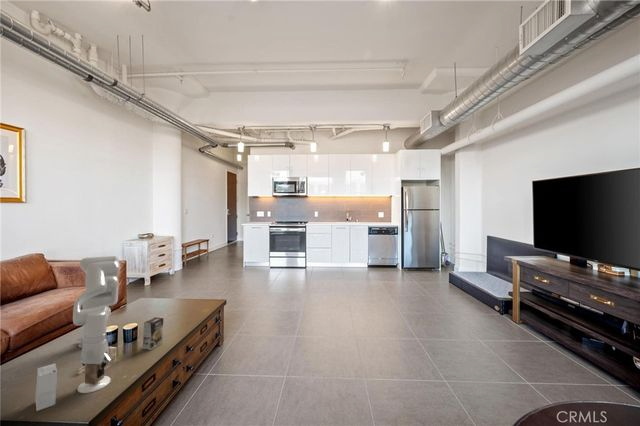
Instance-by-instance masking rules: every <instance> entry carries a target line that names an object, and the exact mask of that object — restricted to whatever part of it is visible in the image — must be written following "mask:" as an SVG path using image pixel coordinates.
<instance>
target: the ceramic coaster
mask: <svg viewBox="0 0 640 426" xmlns="http://www.w3.org/2000/svg"><path fill="white" fill-rule="evenodd" d="M110 383H111V377H109V376H108V375H104V378H103V379H102V380H100V381H99V382H98V383H96V384H85V381H84V382H82V383H80V384H79V385H78V387H77V392H78V393H80V394H90V393H94V392H97V391H99V390H101V389H104V388H106V387H107V386H108V385H109V384H110Z"/></svg>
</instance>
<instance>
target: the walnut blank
mask: <svg viewBox="0 0 640 426" xmlns="http://www.w3.org/2000/svg"><path fill="white" fill-rule="evenodd" d="M101 365H102V363H101ZM98 369H99V367H98V364H86V365H85V371H84V373H85V374H84V382H85V384H96V383H98V382H99V381H100V380H102V379H103V378H104V376H105V373H104V374H103V375H102V376H101V377H99V378H98V377H97V375H98Z"/></svg>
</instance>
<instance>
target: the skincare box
mask: <svg viewBox="0 0 640 426" xmlns="http://www.w3.org/2000/svg"><path fill="white" fill-rule="evenodd" d="M36 369H37V374H36V387H35V399H34V403H35V407H36V408H35V409H36V410H35V411H36V412H38V411H42V410H44V409H46V408H49V407H52V406H55V405H56V398H57V385H58V371H59V370H58V369H57V364H56V363H52V364H48V365H44V366H41V367H38V368H36Z"/></svg>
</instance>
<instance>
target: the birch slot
mask: <svg viewBox="0 0 640 426" xmlns="http://www.w3.org/2000/svg"><path fill="white" fill-rule="evenodd" d="M108 350H109V355H108V356H109V357H110V359H111V362H109V363H108V364H107V365H106V366H105V367H104V371H106V370H107V369H108V368H110V367H111V366H112V365H114V364H115V363H117V354H118V353H117V350H118V348H117V347H116V346H108ZM105 362H106V360H105ZM83 373H85V369H84V366H83V365H82V367H80V368H78V370H77V375H81V374H83Z"/></svg>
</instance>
